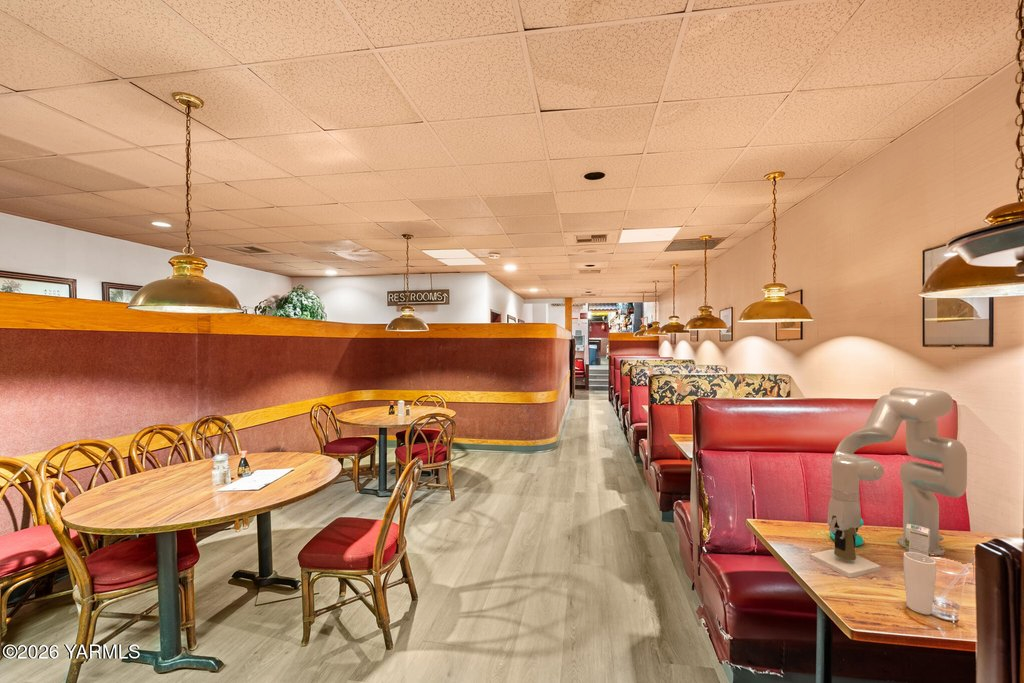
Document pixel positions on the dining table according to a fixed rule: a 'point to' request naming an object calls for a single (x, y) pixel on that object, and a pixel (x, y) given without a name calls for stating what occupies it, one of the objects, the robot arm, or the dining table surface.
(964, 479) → the robot arm
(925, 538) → the syrup box
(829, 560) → the ceramic tile
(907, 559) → the white tall cup
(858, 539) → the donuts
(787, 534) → the dining table surface
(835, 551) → the cork
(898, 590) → the dining table surface
